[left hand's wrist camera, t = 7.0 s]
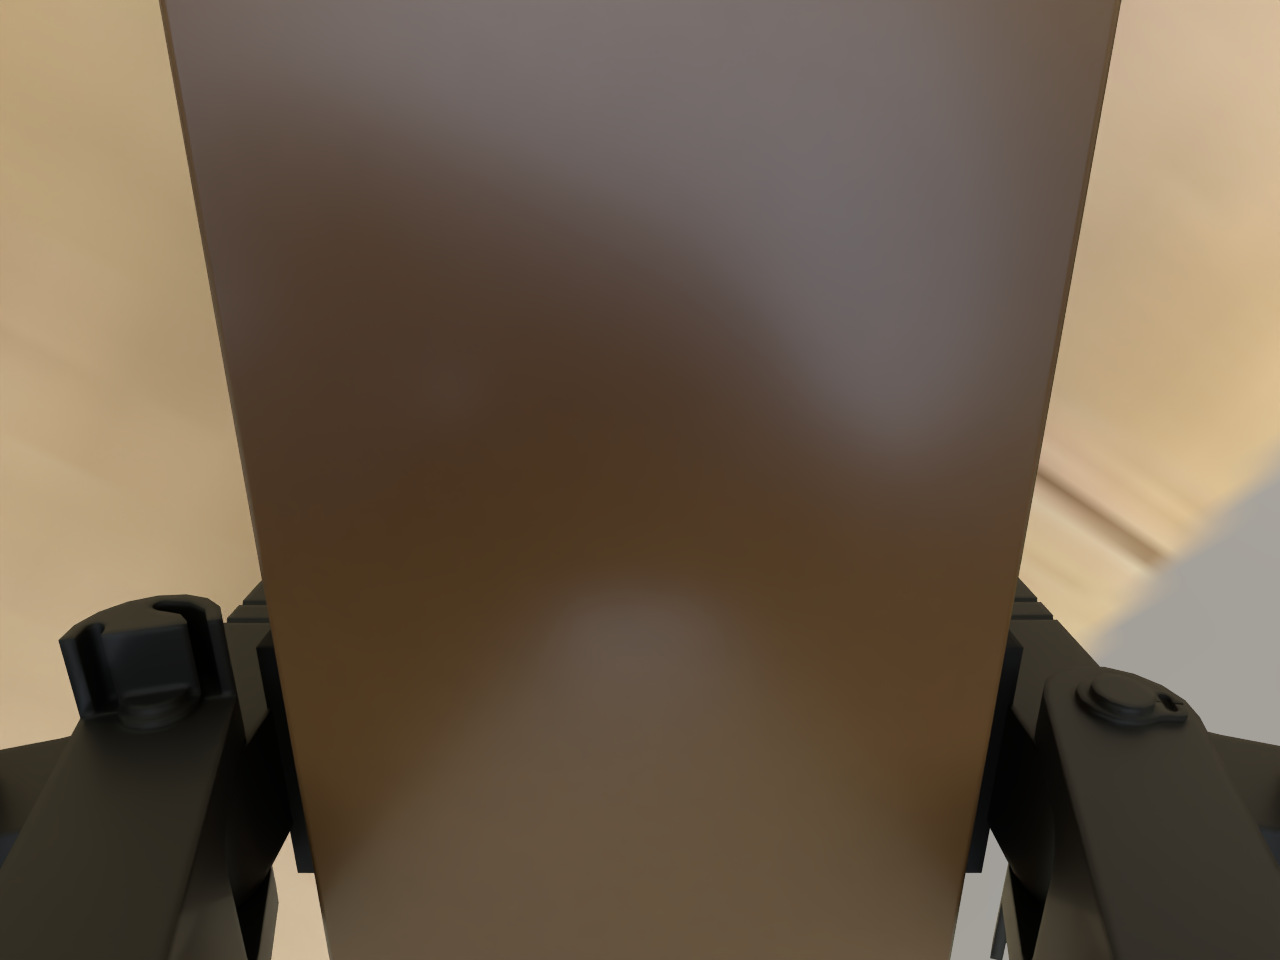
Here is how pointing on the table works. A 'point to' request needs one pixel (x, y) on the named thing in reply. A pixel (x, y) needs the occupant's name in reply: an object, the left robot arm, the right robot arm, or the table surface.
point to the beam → (640, 445)
